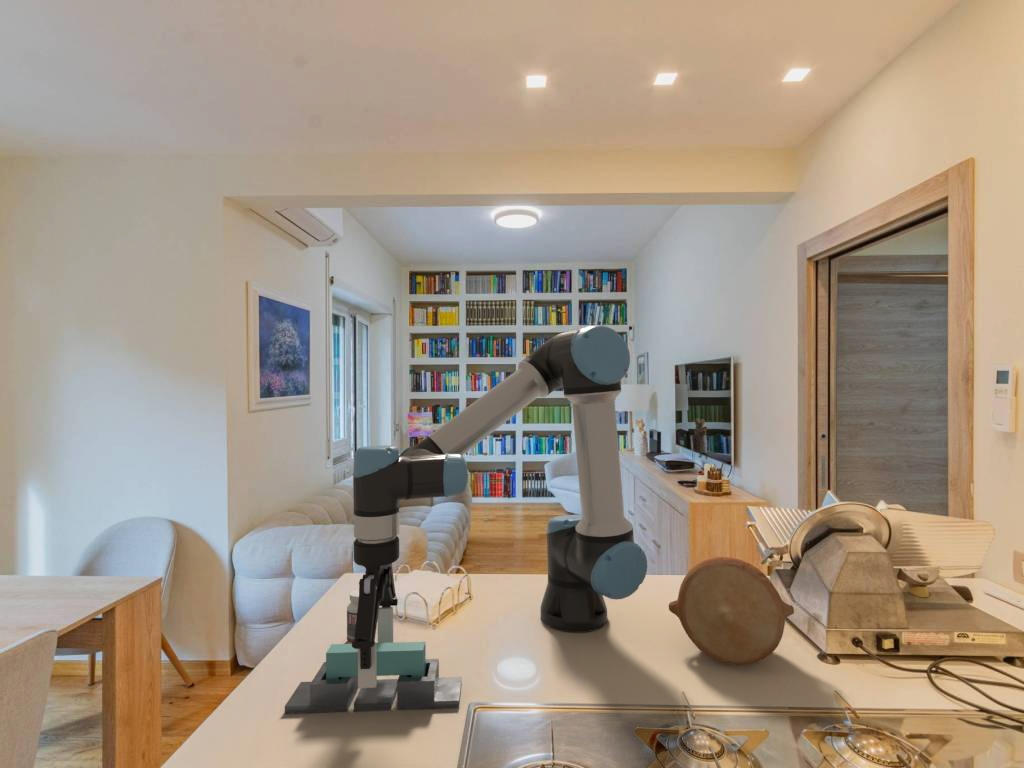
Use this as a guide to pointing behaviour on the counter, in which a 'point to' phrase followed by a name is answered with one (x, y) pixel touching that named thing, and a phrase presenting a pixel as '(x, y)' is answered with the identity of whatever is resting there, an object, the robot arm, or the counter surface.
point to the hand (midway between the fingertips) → (377, 663)
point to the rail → (376, 693)
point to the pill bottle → (352, 615)
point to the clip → (378, 660)
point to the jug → (731, 611)
